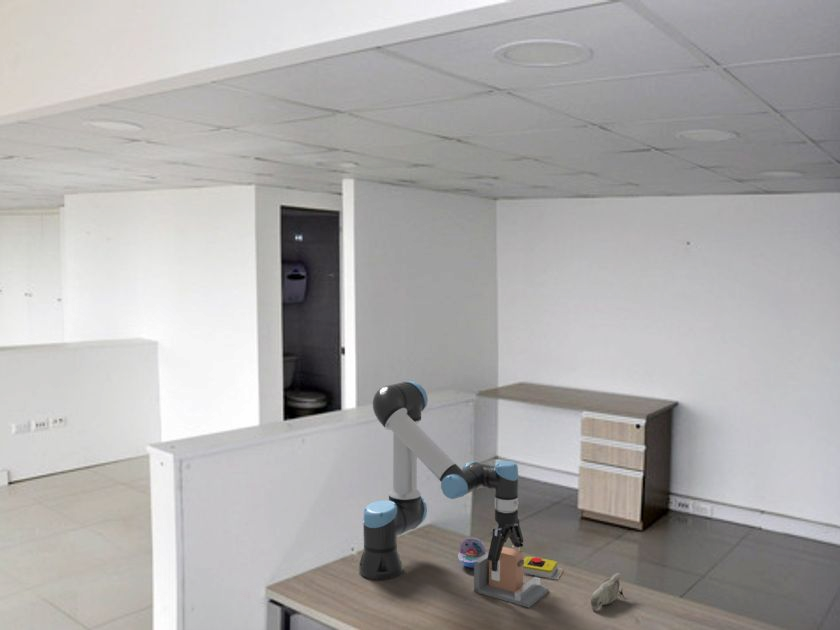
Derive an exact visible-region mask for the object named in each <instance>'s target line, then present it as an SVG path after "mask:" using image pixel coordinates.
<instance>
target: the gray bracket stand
mask: <svg viewBox="0 0 840 630" xmlns="http://www.w3.org/2000/svg"><path fill="white" fill-rule="evenodd" d="M488 554H489V551H487V552H486V554H485V555H483V556H482V557H480V558H479V559H477V560H476V561H474V567H473V592H475V593H479V594H482V595H485V596H489V597H492V598H495V599H498V598H499V600H502V601H505V602H508V603H511V604H512V603H513V604H514V605H519V606H522V607H526V608H531V606H533V605H534V604H536V603H537V602H538V601H539V600H540V599H541V598H543V596H545V595H546V594H548V592H549V587H547V586H544V585H540V586H539V587H538V588H536V589H535V590H534V591H533V592H531V593H530V594H529V595H528V596H526V597H525V598H524V599H523V600H522V601H517V600H515V592H511V591H508V590H504V589H501V588H497V587H494V586H490V585H489V560H488V559H487V558H488ZM527 582H528V581H526V580H523V586H524V585H525V584H526V583H527Z"/></svg>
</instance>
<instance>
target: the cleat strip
mask: <svg viewBox="0 0 840 630" xmlns="http://www.w3.org/2000/svg"><path fill="white" fill-rule="evenodd" d="M526 582H527V583H526V584H525V585H524V586H522V587H521V588H520V589H518V590H517V591H516V592H515V600H517V601H522V600H523V599H524V598H525V597H526V596H528V595H529V594H530V593H531V592H533V591H534V590H535V589H536V588H538V587H539V586H541V577H538V576H533V577H532V579H531V578H530V580H528V581H526Z"/></svg>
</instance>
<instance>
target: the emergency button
mask: <svg viewBox="0 0 840 630" xmlns="http://www.w3.org/2000/svg"><path fill="white" fill-rule="evenodd" d="M523 560H524V564H523V573H524V574H523V575H528V574H530V575H529V576H533V575H534V576H533V577H538V578H544V577H545V579H550V580H551V579H552V580H559V578H560V577H559V576H561V575H562V573H563V572H561V573H559V572H558V570H559V569H561V568H559V567H558V561H556V560H551V559H547V558H546V559H545V558H540V557H534V556H526V557H525V558H523ZM558 568H559V569H558ZM562 571H564V569H563V570H562ZM557 572H558V573H559V574H558V573H557Z"/></svg>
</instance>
